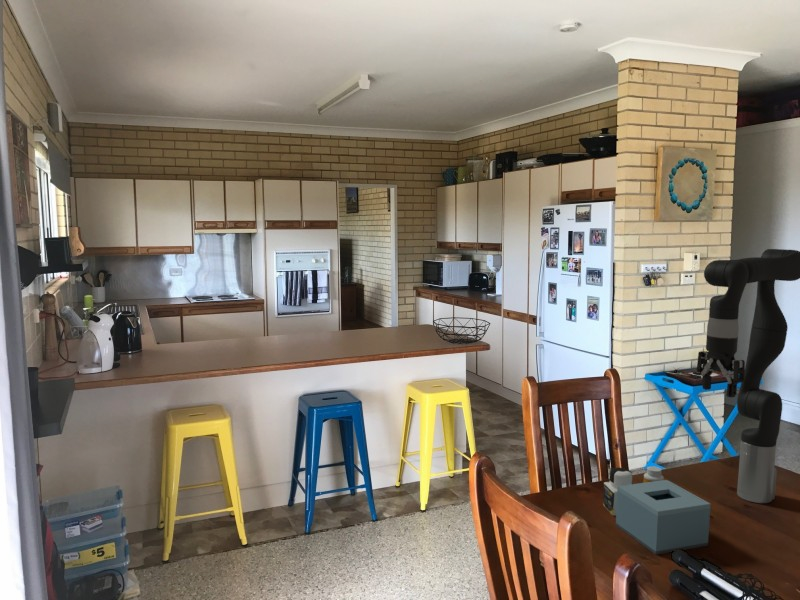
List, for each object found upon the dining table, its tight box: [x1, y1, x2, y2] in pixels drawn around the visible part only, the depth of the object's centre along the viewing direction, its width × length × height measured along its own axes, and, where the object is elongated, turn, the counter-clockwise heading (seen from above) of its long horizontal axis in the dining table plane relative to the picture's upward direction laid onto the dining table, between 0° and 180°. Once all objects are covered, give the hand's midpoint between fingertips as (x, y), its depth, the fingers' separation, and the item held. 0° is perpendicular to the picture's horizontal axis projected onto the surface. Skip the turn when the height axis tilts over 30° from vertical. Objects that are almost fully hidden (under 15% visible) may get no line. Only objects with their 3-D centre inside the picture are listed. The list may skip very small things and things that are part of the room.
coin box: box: [615, 479, 712, 555], centre depth 166 cm, size 16×16×11 cm
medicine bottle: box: [602, 467, 633, 517], centre depth 181 cm, size 7×7×12 cm
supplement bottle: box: [642, 466, 665, 483], centre depth 186 cm, size 6×6×10 cm
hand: (718, 393), depth 172 cm, fingers open, 8 cm apart
